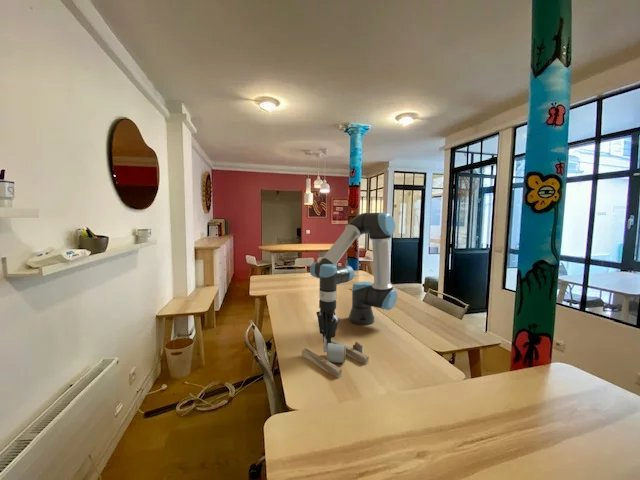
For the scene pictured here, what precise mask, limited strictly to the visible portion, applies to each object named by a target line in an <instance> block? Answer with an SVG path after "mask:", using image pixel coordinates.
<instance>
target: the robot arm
mask: <svg viewBox="0 0 640 480" xmlns="http://www.w3.org/2000/svg"><path fill="white" fill-rule="evenodd" d="M395 229H396V223H395V218H394V217H393V216H392V214H391V213H388V212H363V213H360V214H357V216H355V217H354V218H352V219H351V220H350V221H349V222H348V223H347V224H346V225H345V228H344V231H343V232H342V234H341V235H339V236H338V238H337V240H335V242H334V243H333V245H332V246H330V248H329V249H328V250H327V252H326V253H325V254H324V255H323V257H322V258H321V259H320V261H315V262H313V263H311V265H310V267H309V273H310V275H311V276H312V277H313V278H316V279H319V294H318V297H319V301H318V303H319V304H318V307H319V310H318V311H316V313H315V314H316V317H317V320H318V322H317V323H318V329H319V334H320V335H321V336H322V343H323V352H324V353H327V343H331V339H333V338H335V337H336V332H337V327H338V324H339V321H340V317H337V316H336V309H337V286H338V285H340V284H344V283H348V282H351V281H353V279H354V278H355V270H354V269H353V267H352V266H351V265H337V264H338V262H339V261H340V260H341V259H342V257H343V256H344V255H345V253H346V252H347V251H348V250H349V248H350V247H351V246H352V244H353V243H354V242H355V240H356V239H359V238H360V237H361V236H362V235H364V234H366V235H369V236H368V237H369V240H370V241H371V243H372V264H373V265H372V266H373V268H372V269H373V282H372V281H358V282H355V283H353V284H352V289H351V295H352V296H351V297H352V299H351V310H350V313H349V316H348V321H349V322H350V323H352V324H355V325H362V326H365V325H368V326H369V325H372V324H374V322H375V316H374V312H373V308H376V309H380V310H387V311H390V310H392V309H394V308H395V306H396V303H397V302H398V301H397V300H398V292H397V290H396V289H394V287H393V286H394V285H393V283H392V282H391V280H390V279H391V277H390V276H391V275H390V273H391V272H390V254H389V252H390V251H389V241H390V240H391V238H392V235H394V233H395Z"/></svg>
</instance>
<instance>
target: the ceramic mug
mask: <svg viewBox="0 0 640 480" xmlns="http://www.w3.org/2000/svg"><path fill="white" fill-rule="evenodd" d="M344 345H345V344H344ZM344 345H340V344H332V343H327V352H326V359H325V360H328V361H329V362H330V363H332V364H334V363H335V364H336V363H337V364H339V363H342V364H344V363H345V362H346V357H347V355H346V347H345V346H344Z"/></svg>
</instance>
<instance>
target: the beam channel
mask: <svg viewBox="0 0 640 480" xmlns="http://www.w3.org/2000/svg"><path fill="white" fill-rule="evenodd" d="M331 343H332V344H340V345H344V346H345V347H346V356H348V357H349V358H352V359H354V360H355V361H357V362H359V363H361V364H363V365H365V366H366V365H367V364H369V360H370V359H369V357H370V356H368V355H366V354H365V353H363V345H361V342H360V341H355V343H354V344H353V345H352V347H350V346H348V345H346V344H344V343H342V342H340V341H338V340H336V339H333V338H331ZM301 357H303V358H305V359H306V360H308V361H310V362H311V363H313V364H314V365H316V366H317V367H319V368H321V369H323V371H325V372H327V373H328V374H331V375H332V376H333V377H335V378H336V379H340V378H342V375H343V369H342V368H340V367H339V366H337V365H336V364H334V363H333V362H329V361H328V360H326V359H325V358H324V357H321V355H318V354H317V353H315V352H313V351H312V350H310V349H308V348H306V347H305V348H302V349H301Z"/></svg>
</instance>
